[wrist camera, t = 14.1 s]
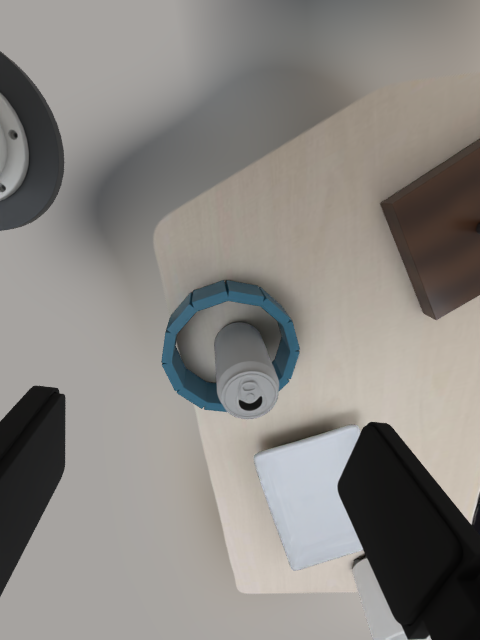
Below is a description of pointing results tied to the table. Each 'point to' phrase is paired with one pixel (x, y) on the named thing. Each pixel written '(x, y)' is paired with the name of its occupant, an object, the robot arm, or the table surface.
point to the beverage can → (244, 372)
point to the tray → (310, 496)
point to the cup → (376, 604)
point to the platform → (441, 232)
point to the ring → (210, 296)
